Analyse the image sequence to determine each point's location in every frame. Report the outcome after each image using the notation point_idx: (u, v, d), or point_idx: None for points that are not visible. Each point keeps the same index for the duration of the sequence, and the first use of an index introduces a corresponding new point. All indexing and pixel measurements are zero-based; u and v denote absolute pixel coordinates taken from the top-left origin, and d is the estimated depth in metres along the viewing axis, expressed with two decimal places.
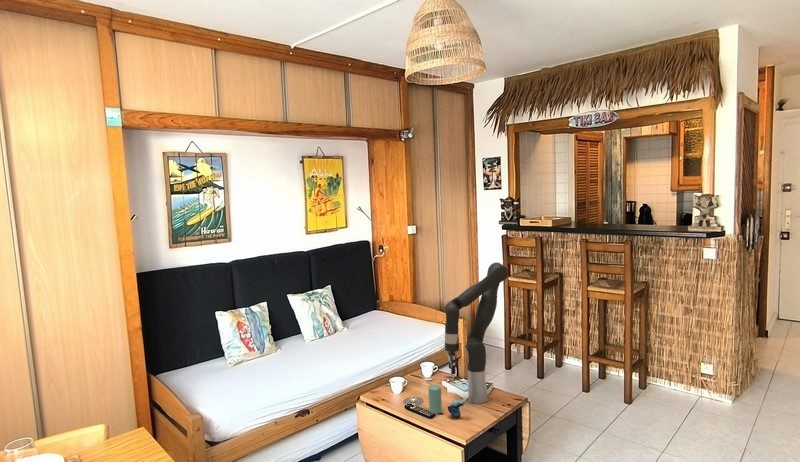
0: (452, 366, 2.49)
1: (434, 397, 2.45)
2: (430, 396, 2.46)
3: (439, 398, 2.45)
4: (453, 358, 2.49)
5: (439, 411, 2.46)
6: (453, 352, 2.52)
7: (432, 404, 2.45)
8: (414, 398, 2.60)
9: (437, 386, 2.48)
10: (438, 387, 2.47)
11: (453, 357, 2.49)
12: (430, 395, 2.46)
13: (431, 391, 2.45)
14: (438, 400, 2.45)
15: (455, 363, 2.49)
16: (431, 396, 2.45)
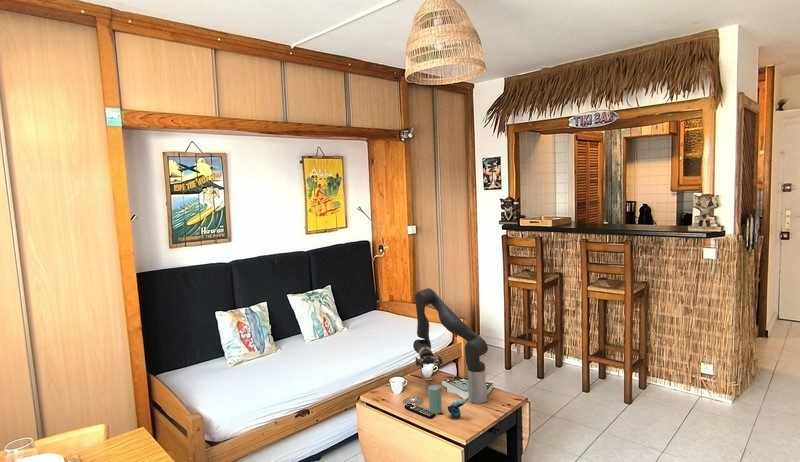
0: (416, 364, 2.62)
1: (434, 397, 2.45)
2: (430, 396, 2.46)
3: (439, 398, 2.45)
4: None
5: (439, 411, 2.46)
6: (420, 358, 2.68)
7: (432, 404, 2.45)
8: (414, 398, 2.60)
9: (437, 386, 2.48)
10: (438, 387, 2.47)
11: None
12: (430, 395, 2.46)
13: (431, 391, 2.45)
14: (438, 400, 2.45)
15: (416, 361, 2.63)
16: (431, 396, 2.45)
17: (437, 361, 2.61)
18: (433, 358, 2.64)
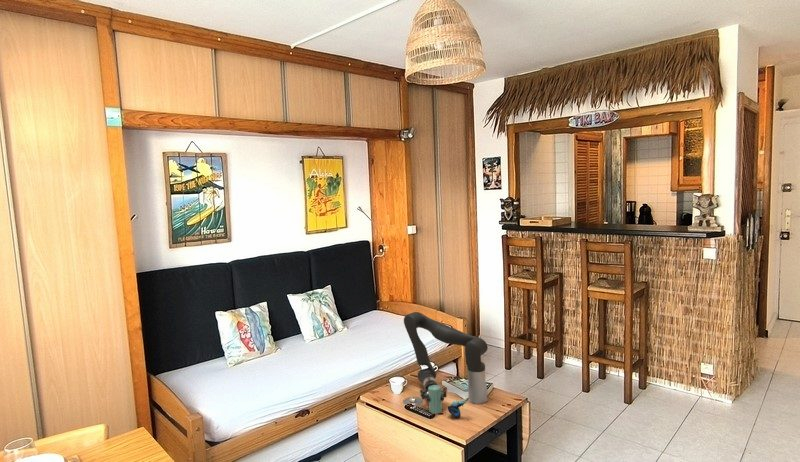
0: (422, 398, 2.50)
1: (434, 397, 2.45)
2: (430, 396, 2.46)
3: (439, 398, 2.45)
4: (420, 393, 2.54)
5: (439, 411, 2.46)
6: (425, 390, 2.57)
7: (432, 404, 2.45)
8: (414, 398, 2.60)
9: (437, 386, 2.48)
10: (438, 387, 2.47)
11: (420, 393, 2.54)
12: (430, 395, 2.46)
13: (431, 391, 2.45)
14: (438, 400, 2.45)
15: (421, 394, 2.51)
16: (431, 396, 2.45)
17: (441, 394, 2.49)
18: None
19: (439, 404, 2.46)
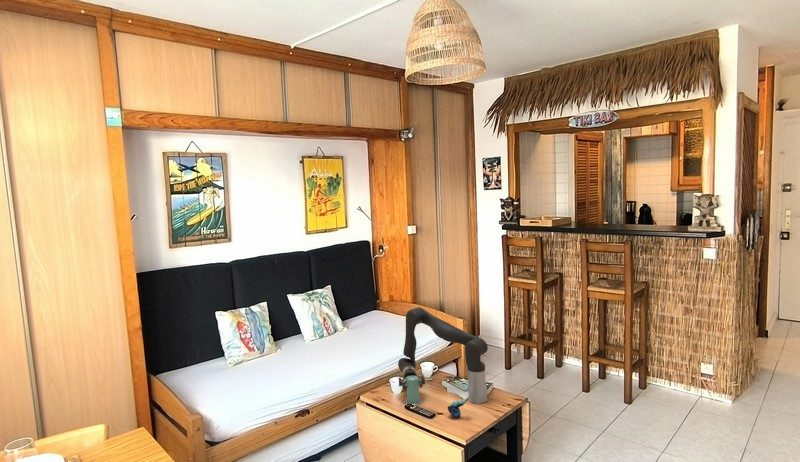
0: None
1: (412, 387, 2.57)
2: (408, 386, 2.58)
3: (416, 388, 2.58)
4: None
5: (416, 400, 2.58)
6: (404, 378, 2.69)
7: (410, 394, 2.57)
8: None
9: (415, 376, 2.60)
10: (416, 377, 2.59)
11: None
12: (408, 385, 2.58)
13: (409, 381, 2.57)
14: (415, 390, 2.57)
15: (399, 381, 2.64)
16: (409, 386, 2.57)
17: (420, 381, 2.61)
18: None
19: (416, 394, 2.58)
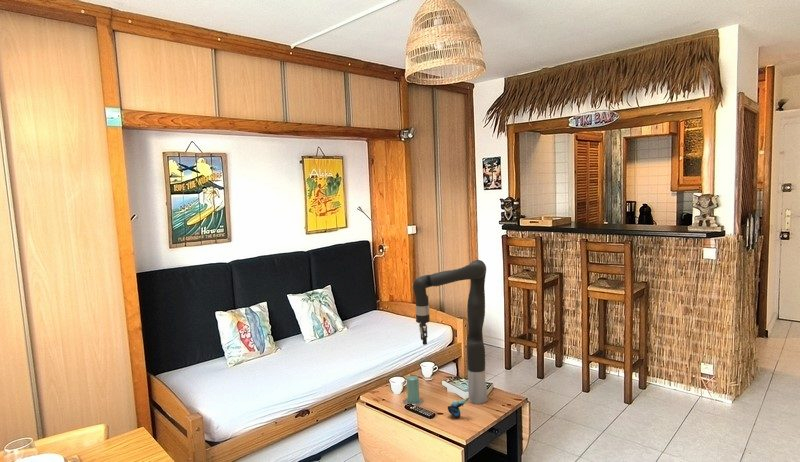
0: (423, 336, 2.59)
1: (412, 387, 2.57)
2: (408, 386, 2.58)
3: (416, 388, 2.58)
4: (424, 329, 2.59)
5: (416, 400, 2.58)
6: (424, 323, 2.62)
7: (410, 394, 2.57)
8: None
9: (415, 376, 2.60)
10: (416, 377, 2.59)
11: (424, 328, 2.59)
12: (408, 385, 2.58)
13: (409, 381, 2.57)
14: (415, 390, 2.57)
15: (426, 334, 2.59)
16: (409, 386, 2.57)
17: (424, 334, 2.70)
18: None
19: (416, 394, 2.58)
